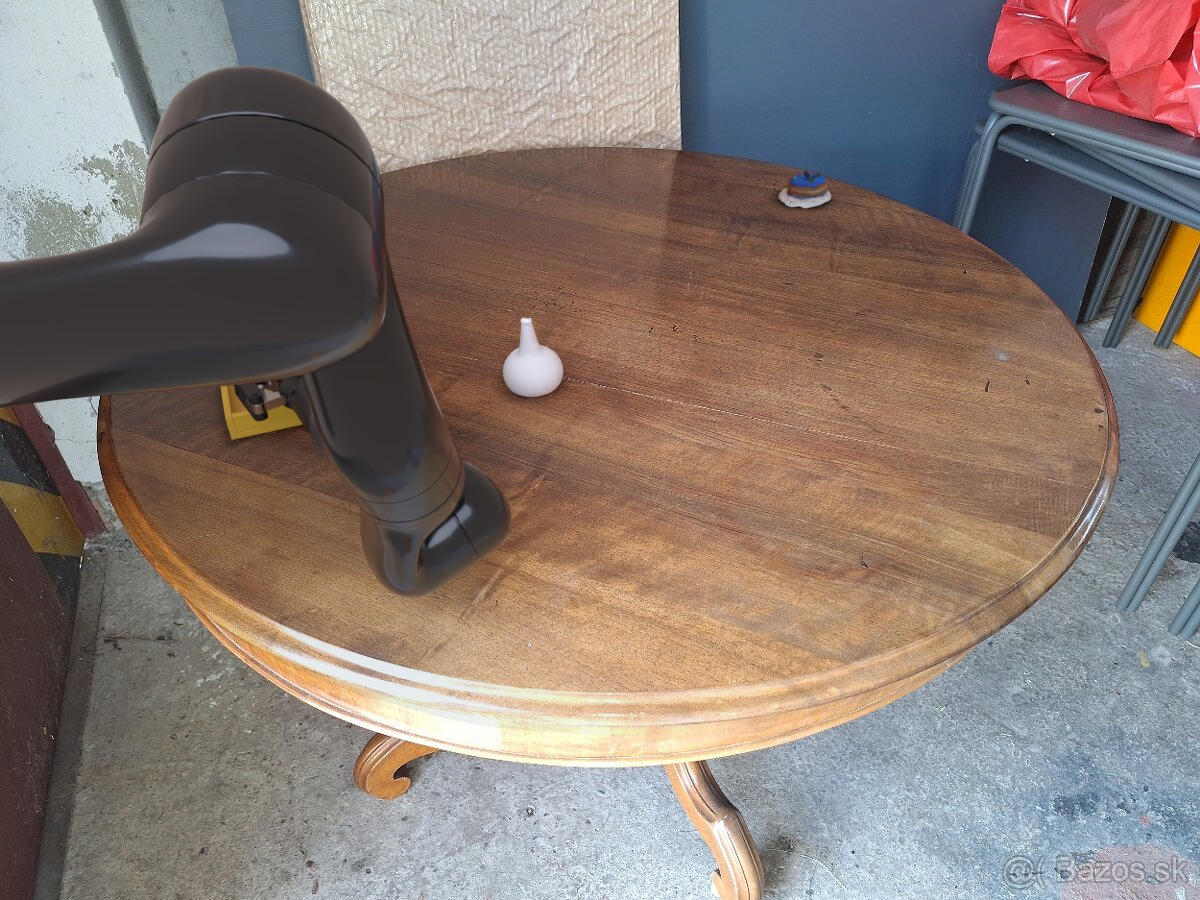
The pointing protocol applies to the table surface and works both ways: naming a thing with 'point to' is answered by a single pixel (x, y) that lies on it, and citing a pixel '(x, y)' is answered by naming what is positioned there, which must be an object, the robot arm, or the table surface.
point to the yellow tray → (243, 421)
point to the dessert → (805, 191)
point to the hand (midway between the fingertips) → (293, 337)
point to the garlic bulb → (532, 365)
